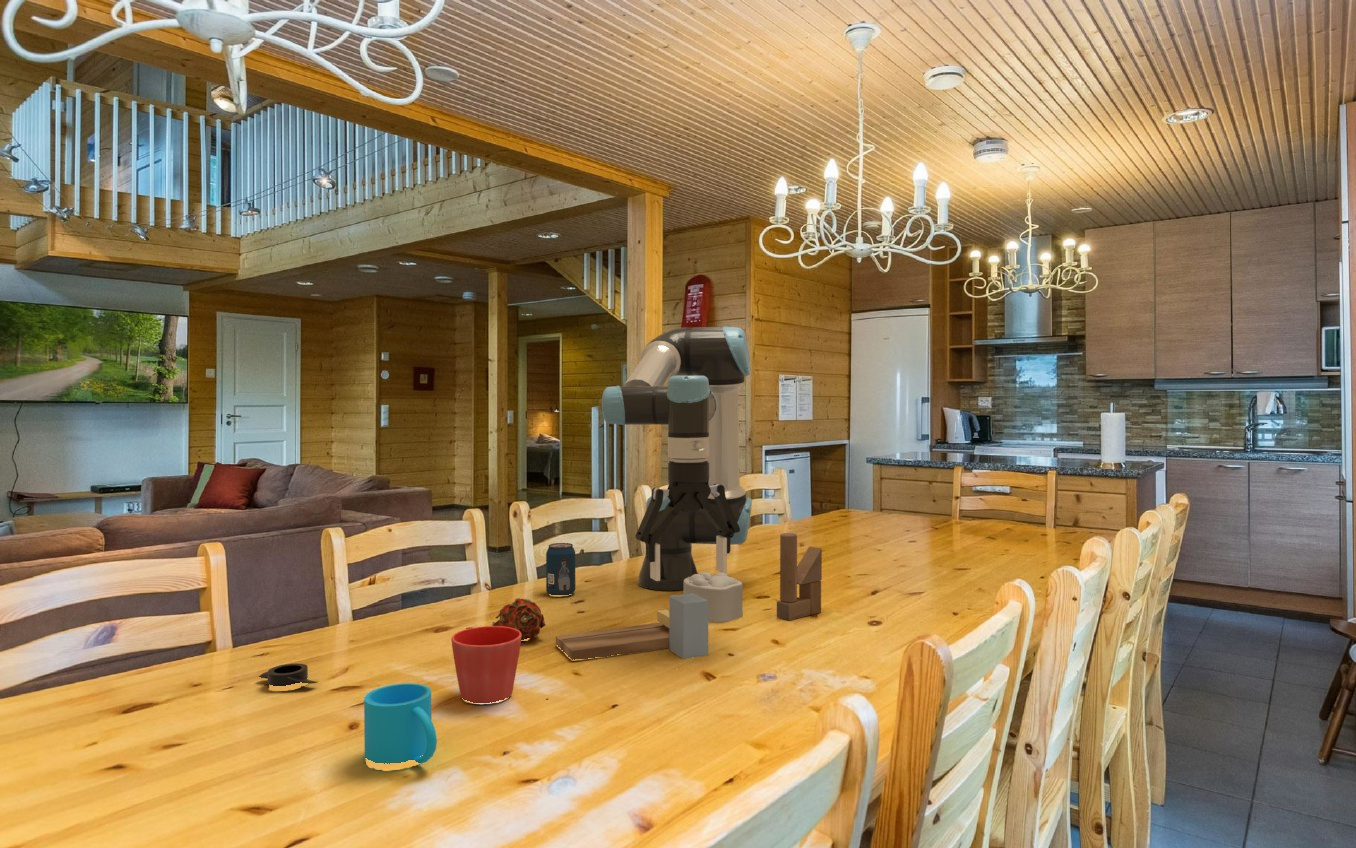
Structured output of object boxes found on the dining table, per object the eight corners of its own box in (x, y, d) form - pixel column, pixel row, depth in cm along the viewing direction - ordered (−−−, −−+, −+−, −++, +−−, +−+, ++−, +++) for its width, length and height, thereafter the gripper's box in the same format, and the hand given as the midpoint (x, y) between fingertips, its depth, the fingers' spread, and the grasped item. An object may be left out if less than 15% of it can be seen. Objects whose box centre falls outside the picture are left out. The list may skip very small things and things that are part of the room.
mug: (352, 759, 101) (351, 696, 101) (408, 738, 108) (408, 679, 107) (404, 787, 94) (404, 719, 93) (462, 763, 100) (461, 699, 100)
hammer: (650, 637, 155) (650, 586, 154) (673, 633, 157) (673, 583, 157) (683, 659, 141) (683, 603, 141) (708, 655, 143) (708, 600, 143)
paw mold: (718, 625, 163) (719, 583, 163) (671, 614, 172) (671, 574, 172) (748, 615, 171) (748, 575, 171) (702, 605, 180) (702, 567, 179)
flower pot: (535, 688, 126) (534, 628, 126) (497, 714, 116) (497, 648, 116) (477, 681, 130) (477, 622, 130) (436, 705, 119) (436, 641, 119)
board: (555, 646, 148) (555, 635, 148) (680, 629, 159) (680, 619, 159) (572, 662, 139) (572, 650, 139) (703, 643, 150) (703, 632, 150)
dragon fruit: (536, 655, 148) (502, 651, 156) (563, 621, 153) (529, 618, 162) (509, 623, 145) (476, 620, 154) (538, 590, 150) (505, 589, 159)
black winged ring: (266, 701, 121) (265, 682, 121) (256, 683, 130) (256, 665, 129) (320, 691, 126) (320, 673, 126) (307, 674, 134) (307, 657, 134)
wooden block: (821, 612, 173) (822, 530, 172) (788, 621, 166) (789, 536, 165) (808, 609, 175) (809, 528, 175) (775, 618, 168) (776, 533, 168)
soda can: (560, 590, 194) (560, 541, 194) (581, 594, 190) (581, 544, 190) (540, 595, 188) (539, 545, 188) (561, 599, 184) (561, 548, 184)
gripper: (633, 465, 135) (633, 587, 136) (758, 458, 146) (757, 572, 147) (617, 461, 142) (618, 578, 143) (737, 455, 153) (737, 564, 154)
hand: (689, 575), depth 145 cm, fingers open, 13 cm apart
